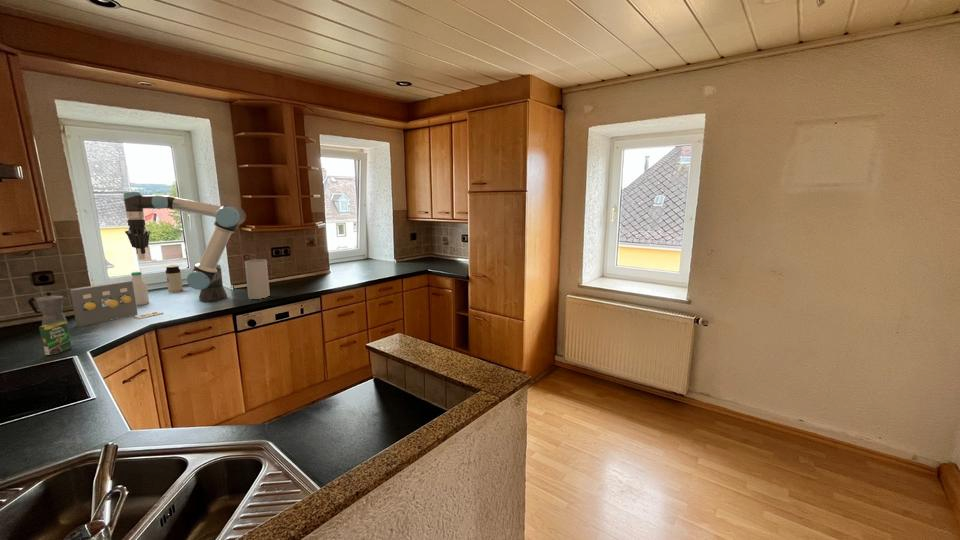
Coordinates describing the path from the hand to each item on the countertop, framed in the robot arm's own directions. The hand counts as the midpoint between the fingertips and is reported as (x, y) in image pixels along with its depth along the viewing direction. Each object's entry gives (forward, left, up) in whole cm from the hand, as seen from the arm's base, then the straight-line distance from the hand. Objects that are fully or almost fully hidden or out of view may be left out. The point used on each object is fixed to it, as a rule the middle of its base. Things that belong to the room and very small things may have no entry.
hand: (142, 259), depth 225 cm
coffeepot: (+19, +36, -30) cm, 50 cm away
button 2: (-2, +17, -21) cm, 27 cm away
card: (-13, +16, -29) cm, 36 cm away
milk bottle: (+11, -7, -30) cm, 32 cm away
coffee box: (-18, +68, -30) cm, 76 cm away
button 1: (+5, +31, -21) cm, 38 cm away
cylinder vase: (-52, -25, -30) cm, 65 cm away
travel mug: (+15, -40, -30) cm, 52 cm away
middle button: (-2, +26, -21) cm, 34 cm away
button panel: (+2, +24, -29) cm, 38 cm away
